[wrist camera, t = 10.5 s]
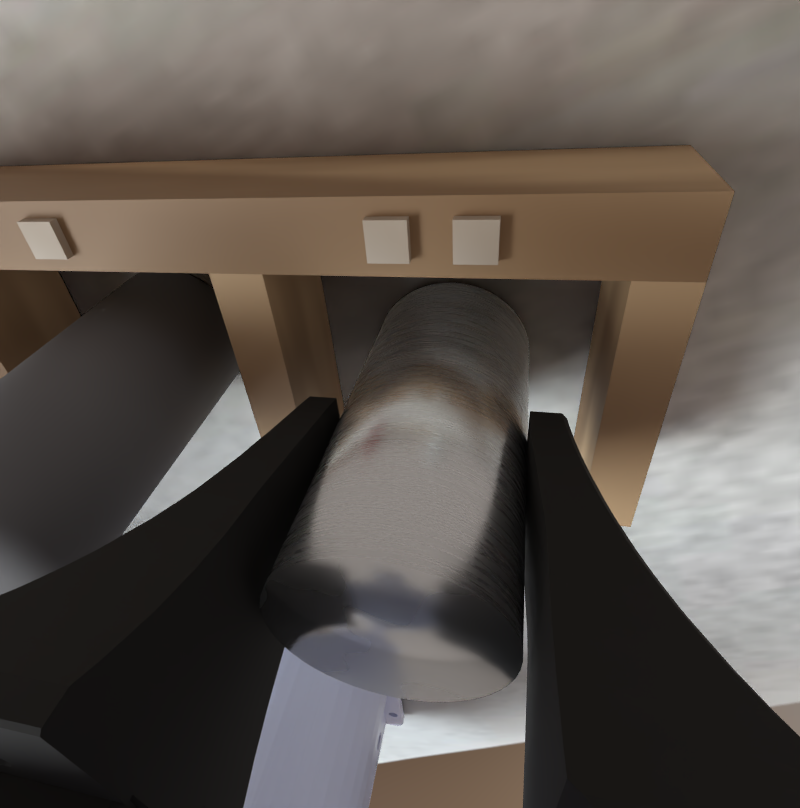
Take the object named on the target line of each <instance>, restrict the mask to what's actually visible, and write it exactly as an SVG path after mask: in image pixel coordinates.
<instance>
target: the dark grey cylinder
mask: <svg viewBox="0 0 800 808" xmlns="http://www.w3.org/2000/svg"><path fill="white" fill-rule="evenodd" d="M239 371H240V370H239V367H238V364H237V360H236V357H235V354H234V351H233V348H232V345H231V342H230V338H229V335H228V332H227V329H226V326H225V323H224V320H223V317H222V313H221V310H220V307H219V304H218V301H217V298H216V295H215V291H214V289H213V288H211V287H210V286H208V285H207V284H205V283H204V282H202V281H200V280H199V279H197V278H195V277H193V276H190V275H188V274H186V273H156V272H140V273H138V274H136V275H135V276H133V277H132V278H131V279H129V280H128V281H127V282H125V283H124V284H123V285H121V286H120V287H119V288H118V289H116V290H115V291H114V292H112V293H111V294H110V295H109V296H107V297H106V298H105V299H103V300H102V301H101V302H99V303H98V304H97V305H96V306H94V307H93V308H92V309H90V310H89V311H88V312H87V313H85V314H84V315H83V316H81V317H80V318H79V319H77V320H76V321H75V322H74V323H72V324H71V325H70V326H68V327H67V328H66V329H65V330H63V331H62V332H61V333H59V334H58V335H57V336H55V337H54V338H53V339H52V340H50V341H49V342H48V343H46V344H45V345H44V346H43V347H41V348H40V349H39V350H37V351H36V352H35V353H33V354H32V355H31V356H30V357H28V358H27V359H26V360H24V361H23V362H22V363H20V364H19V365H18V366H17V367H15V368H14V369H13V370H11V371H10V372H9V373H8V374H6V375H5V376H4V377H2V378H1V379H0V595H1V594H4V593H6V592H9V591H11V590H13V589H16V588H18V587H21V586H23V585H25V584H27V583H29V582H32V581H34V580H36V579H38V578H40V577H42V576H45V575H47V574H49V573H51V572H53V571H55V570H57V569H59V568H61V567H64V566H66V565H68V564H70V563H72V562H74V561H76V560H78V559H80V558H82V557H83V556H85V555H87V554H89V553H91V552H93V551H95V550H97V549H99V548H101V547H103V546H104V545H106V544H108V543H110V542H111V541H113V540H115V539H117V538H118V537H120V536H121V535H122V534H123V533H124V531H125V530H126V528H127V527H128V526H129V524H130V523H131V521H132V520H133V519H134V517H135V516H136V514H137V513H138V512H139V510H140V509H141V508H142V506H143V505H144V503H145V502H146V501H147V499H148V498H149V496H150V495H151V494H152V492H153V491H154V489H155V488H156V487H157V485H158V484H159V482H160V481H161V480H162V478H163V477H164V476H165V474H166V473H167V471H168V470H169V469H170V467H171V466H172V464H173V463H174V462H175V460H176V459H177V457H178V456H179V455H180V453H181V452H182V450H183V449H184V448H185V446H186V445H187V444H188V442H189V441H190V439H191V438H192V437H193V435H194V434H195V432H196V431H197V430H198V428H199V427H200V425H201V424H202V423H203V421H204V420H205V419H206V417H207V416H208V414H209V413H210V412H211V410H212V409H213V407H214V406H215V405H216V403H217V402H218V400H219V399H220V398H221V396H222V395H223V393H224V392H225V391H226V389H227V388H228V387H229V385H230V384H231V382H232V381H233V380H234V378H235V377H236V375H237V374H238V373H239Z"/></svg>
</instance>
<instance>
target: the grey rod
mask: <svg viewBox="0 0 800 808" xmlns="http://www.w3.org/2000/svg"><path fill="white" fill-rule="evenodd" d="M528 392H529V341H528V336H527V333H526V330H525V328H524V326H523V324H522V322H521V320H520V319H519V317H518V316H517V314H516V313H515V312H514V311H513V310H512V308H511V307H510V306H509V305H508V304H506V303H505V302H504V301H503V300H502V299H500V298H499V297H497V296H495V295H494V294H492V293H490V292H488V291H486V290H484V289H481V288H478V287H475V286H472V285H467V284H462V283H438V284H432V285H428V286H425V287H422V288H419V289H417V290H415V291H412V292H411V293H409V294H407V295H406V296H404V297H403V298H402V299H401V300H399V301H398V302H397V303H396V304H395V305H394V306H393V308H392V309H391V310H390V311H389V313H388V315H387V316H386V318H385V320H384V322H383V325H382V327H381V329H380V331H379V334H378V336H377V338H376V340H375V342H374V345H373V347H372V349H371V351H370V353H369V356H368V358H367V360H366V362H365V364H364V367H363V369H362V371H361V373H360V376H359V378H358V380H357V382H356V384H355V387H354V389H353V391H352V393H351V395H350V398H349V400H348V402H347V404H346V406H345V409H344V411H343V413H342V415H341V418H340V420H339V422H338V424H337V426H336V429H335V431H334V433H333V435H332V437H331V440H330V442H329V444H328V446H327V448H326V451H325V453H324V455H323V457H322V460H321V462H320V464H319V466H318V468H317V471H316V473H315V475H314V477H313V479H312V482H311V484H310V486H309V488H308V490H307V493H306V495H305V497H304V499H303V502H302V504H301V506H300V508H299V510H298V513H297V515H296V517H295V519H294V521H293V524H292V526H291V528H290V530H289V532H288V535H287V537H286V539H285V541H284V544H283V546H282V548H281V550H280V552H279V555H278V557H277V559H276V561H275V563H274V566H273V568H272V570H271V572H270V574H269V577H268V579H267V581H266V583H265V586H264V588H263V590H262V592H261V596H260V610H261V614H262V617H263V620H264V621H265V623H266V625H267V627H268V629H269V630H270V631H271V633H272V634H273V635H274V637H275V638H276V639H277V640H278V641H279V642H280V643H281V644H282V645H283V646H284V647H285V648H286V649H288V650H289V651H290V652H291V653H292V654H294V655H295V656H296V657H298V658H299V659H301V660H302V661H303V662H305V663H307V664H308V665H310V666H312V667H313V668H315V669H317V670H319V671H321V672H322V673H324V674H326V675H328V676H331V677H333V678H335V679H337V680H339V681H342V682H344V683H347V684H349V685H352V686H355V687H358V688H361V689H364V690H367V691H370V692H374V693H378V694H381V695H386V696H391V697H395V698H401V699H407V700H415V701H425V702H456V701H466V700H472V699H477V698H481V697H484V696H487V695H491V694H493V693H495V692H497V691H500V690H501V689H503V688H504V687H506V686H508V685H509V684H510V683H511V682H512V681H513V680H514V679H515V678H516V677H517V675H518V673H519V672H520V670H521V666H522V663H523V627H524V580H525V533H526V481H527V479H526V472H527V438H528Z"/></svg>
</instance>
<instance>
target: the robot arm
mask: <svg viewBox="0 0 800 808" xmlns="http://www.w3.org/2000/svg"><path fill="white" fill-rule="evenodd" d="M339 420H340V414H339V409H338V404H337V398H328V397H313V396H310V397H308V398H307V399H306V400H305V401H304V402H302V403H301V404H300V405H299V406H298V407H296V408H295V409H294V410H293V411H292V412H291V413H290V414H288V415H287V416H286V417H285V418H284V419H283V420H282V421H280V422H279V423H278V424H277V425H276V426H275V427H274V428H272V429H271V430H270V431H269V432H268V433H267V434H265V435H264V436H263V437H262V438H261V439H259V440H258V441H257V442H256V443H255V444H253V445H252V446H251V447H250V448H249V449H248V450H246V451H245V452H244V453H243V454H242V455H240V456H239V457H238V458H236V459H235V460H234V461H232V462H231V463H230V464H229V465H227V466H226V467H225V468H223V469H222V470H221V471H219V472H218V473H217V474H216V475H214V476H213V477H212V478H210V479H209V480H208V481H206V482H205V483H204V484H203V485H201V486H200V487H198V488H197V489H196V490H194V491H193V492H191V493H190V494H188V495H187V496H185V497H184V498H183V499H181V500H180V501H178V502H177V503H175V504H173V505H172V506H170V507H169V508H167V509H166V510H164V511H163V512H161V513H160V514H158V515H156V516H155V517H153V518H152V519H150V520H148V521H147V522H145V523H143V524H141V525H140V526H138V527H136V528H134V529H133V530H131V531H129V532H127V533H126V534H124V535H122V536H120V537H118V538H117V539H115V540H113V541H111V542H110V543H108V544H106V545H104V546H103V547H101V548H99V549H97V550H95V551H93V552H91V553H89V554H87V555H85V556H83V557H82V558H80V559H78V560H76V561H74V562H72V563H70V564H68V565H66V566H64V567H61V568H59V569H57V570H55V571H53V572H51V573H49V574H47V575H45V576H42V577H40V578H38V579H36V580H34V581H32V582H29V583H27V584H25V585H23V586H21V587H18V588H16V589H13V590H11V591H9V592H6V593H4V594H1V595H0V808H369V802H370V797H371V793H372V788H373V782H374V778H375V773H376V768H377V764H378V759H379V754H380V749H381V744H382V739H383V734H384V729H385V725H386V724H391V725H397V726H399V725H402V724H403V721H404V713H403V706H402V700H401V698H395V697H391V696H386V695H381V694H378V693H374V692H370V691H367V690H364V689H361V688H358V687H355V686H352V685H349V684H347V683H344V682H342V681H339V680H337V679H335V678H333V677H331V676H328V675H326V674H324V673H322V672H321V671H319V670H317V669H315V668H313V667H312V666H310V665H308V664H307V663H305V662H303V661H302V660H301V659H299V658H298V657H296V656H295V655H294V654H292V653H291V652H290V651H289V650H288V649H286V648H285V647H284V646H283V645H282V644H281V643H280V642H279V641H278V640H277V639H276V638H275V637H274V635H273V634H272V633H271V631H270V630H269V629H268V627H267V625H266V623H265V621H264V620H263V617H262V614H261V610H260V596H261V592H262V590H263V588H264V586H265V583H266V581H267V579H268V577H269V574H270V572H271V570H272V568H273V566H274V563H275V561H276V559H277V557H278V555H279V552H280V550H281V548H282V546H283V544H284V541H285V539H286V537H287V535H288V532H289V530H290V528H291V526H292V524H293V521H294V519H295V517H296V515H297V513H298V510H299V508H300V506H301V504H302V502H303V499H304V497H305V495H306V493H307V490H308V488H309V486H310V484H311V482H312V479H313V477H314V475H315V473H316V471H317V468H318V466H319V464H320V462H321V460H322V457H323V455H324V453H325V451H326V448H327V446H328V444H329V442H330V440H331V437H332V435H333V433H334V431H335V429H336V426H337V424H338V422H339ZM526 479H527V481H526V533H525V580H524V586H525V601H526V617H527V638H528V665H527V701H526V733H525V764H524V792H523V793H524V795H523V808H800V737H799V736H798V735H797V734H796V733H795V732H794V731H793V730H792V729H791V728H790V727H789V726H788V725H787V724H786V723H785V722H784V721H783V720H782V719H781V718H780V717H779V716H778V715H777V714H776V713H775V712H774V711H773V710H772V709H771V708H770V707H769V706H768V705H767V704H766V703H765V702H764V701H763V700H762V698H761V697H760V696H759V695H758V694H757V693H756V692H755V691H754V690H753V689H752V688H751V687H750V686H749V685H748V684H747V683H746V682H745V681H744V680H743V679H742V678H741V677H740V676H739V675H738V674H737V672H736V671H735V670H734V669H733V668H732V667H731V666H730V665H729V664H728V663H727V661H726V660H725V659H724V658H723V657H722V656H721V655H720V653H719V652H718V651H717V650H716V649H715V648H714V647H713V645H712V644H711V643H710V642H709V641H708V640H707V639H706V638H705V636H704V635H703V634H702V633H701V632H700V631H699V630H698V628H697V627H696V626H695V625H694V624H693V623H692V622H691V621H690V619H689V618H688V617H687V616H686V615H685V614H684V612H683V611H682V610H681V609H680V607H679V606H678V605H677V604H676V602H675V601H674V600H673V599H672V597H671V596H670V595H669V594H668V592H667V591H666V590H665V588H664V587H663V586H662V585H661V583H660V582H659V581H658V579H657V578H656V577H655V575H654V574H653V573H652V571H651V570H650V569H649V567H648V566H647V565H646V563H645V562H644V560H643V559H642V558H641V556H640V555H639V553H638V552H637V550H636V549H635V547H634V546H633V545H632V543H631V542H630V540H629V539H628V537H627V536H626V534H625V532H624V531H623V529H622V528H621V526H620V524H619V523H618V521H617V520H616V518H615V517H614V515H613V513H612V512H611V510H610V508H609V507H608V505H607V503H606V501H605V500H604V498H603V496H602V494H601V492H600V491H599V489H598V487H597V485H596V483H595V481H594V480H593V478H592V476H591V474H590V472H589V470H588V468H587V466H586V464H585V462H584V460H583V458H582V456H581V453H580V451H579V449H578V447H577V445H576V442H575V440H574V437H573V435H572V432H571V429H570V427H569V424H568V420H567V418H566V417H565V416H564V415H563V414H562V413H547V412H533V411H530V418H529V428H528V438H527V472H526Z"/></svg>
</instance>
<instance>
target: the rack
mask: <svg viewBox="0 0 800 808" xmlns="http://www.w3.org/2000/svg"><path fill="white" fill-rule="evenodd" d="M734 192H735V191H734V190H733V189H732V188H731V187H730V186H729V185H728V184H727V183H726V182H725V181H724V180H723V179H722V178H721V177H720V175H719V174H718V173H717V172H716V171H715V170H714V169H713V168H712V167H711V166H710V165H709V164H708V163H707V162H706V161H705V160H704V159H703V158H702V157H701V156H700V155H699V154H698V153H697V151H696V150H695V149H694V148H693V147H692V146H691V145H678V146H646V147H613V148H581V149H549V150H516V151H484V152H451V153H419V154H387V155H354V156H322V157H290V158H257V159H225V160H193V161H160V162H128V163H96V164H63V165H31V166H0V379H1V378H2V377H4V376H5V375H6V374H8V373H9V372H10V371H11V370H13V369H14V368H15V367H17V366H18V365H19V364H20V363H22V362H23V361H24V360H26V359H27V358H28V357H30V356H31V355H32V354H33V353H35V352H36V351H37V350H39V349H40V348H41V347H43V346H44V345H45V344H46V343H48V342H49V341H50V340H52V339H53V338H54V337H55V336H57V335H58V334H59V333H61V332H62V331H63V330H65V329H66V328H67V327H68V326H70V325H71V324H72V323H74V322H75V321H76V320H77V319H79V318H80V317H81V316H80V314H79V312H78V310H77V308H76V306H75V304H74V302H73V300H72V298H71V296H70V294H69V292H68V290H67V288H66V286H65V284H64V282H63V280H62V278H61V276H60V274H59V272H58V271H101V272H156V273H209V276H210V279H211V282H212V285H213V288H214V291H215V295H216V298H217V301H218V304H219V307H220V310H221V313H222V317H223V320H224V323H225V326H226V329H227V332H228V335H229V338H230V342H231V345H232V348H233V351H234V354H235V357H236V360H237V364H238V367H239V370H240V373H241V376H242V379H243V382H244V386H245V389H246V392H247V395H248V398H249V401H250V404H251V408H252V411H253V414H254V417H255V420H256V423H257V426H258V430H259V433H260V436H261V438H262V437H263V436H264V435H265V434H267V433H268V432H269V431H270V430H271V429H272V428H274V427H275V426H276V425H277V424H278V423H279V422H280V421H282V420H283V419H284V418H285V417H286V416H287V415H288V414H290V413H291V412H292V411H293V410H294V409H295V408H296V407H298V406H299V405H300V404H301V403H302V402H304V401H305V400H306V399H307V398H308V397H310V396H313V397H328V398H337V404H338V409H339V414H340V418H341V415H342V413H343V411H344V403H343V398H342V392H341V387H340V381H339V375H338V370H337V364H336V358H335V353H334V347H333V342H332V336H331V330H330V325H329V319H328V314H327V308H326V302H325V297H324V291H323V286H322V280H321V276H375V277H430V278H485V279H540V280H594V281H602V282H601V288H600V294H599V299H598V305H597V310H596V316H595V322H594V327H593V333H592V339H591V344H590V350H589V356H588V361H587V367H586V373H585V378H584V384H583V389H582V395H581V401H580V406H579V412H578V418H577V423H576V429H575V435H574V440H575V442H576V445H577V447H578V449H579V451H580V453H581V456H582V458H583V460H584V462H585V464H586V466H587V468H588V470H589V472H590V474H591V476H592V478H593V480H594V481H595V483H596V485H597V487H598V489H599V491H600V492H601V494H602V496H603V498H604V500H605V501H606V503H607V505H608V507H609V508H610V510H611V512H612V513H613V515H614V517H615V518H616V520H617V521H618V523H619V524H620V526H627V527H631V523H632V520H633V517H634V514H635V510H636V507H637V504H638V501H639V498H640V494H641V491H642V488H643V485H644V482H645V478H646V475H647V472H648V469H649V465H650V462H651V459H652V456H653V453H654V449H655V446H656V443H657V440H658V436H659V433H660V430H661V427H662V424H663V420H664V417H665V414H666V411H667V407H668V404H669V401H670V398H671V395H672V391H673V388H674V385H675V382H676V378H677V375H678V372H679V369H680V366H681V362H682V359H683V356H684V353H685V350H686V346H687V343H688V340H689V337H690V333H691V330H692V327H693V324H694V321H695V317H696V314H697V311H698V308H699V304H700V301H701V298H702V295H703V292H704V288H705V285H706V282H707V279H708V275H709V272H710V269H711V266H712V263H713V259H714V256H715V253H716V250H717V246H718V243H719V240H720V237H721V234H722V230H723V227H724V224H725V221H726V218H727V214H728V211H729V208H730V205H731V201H732V198H733V195H734Z"/></svg>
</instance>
